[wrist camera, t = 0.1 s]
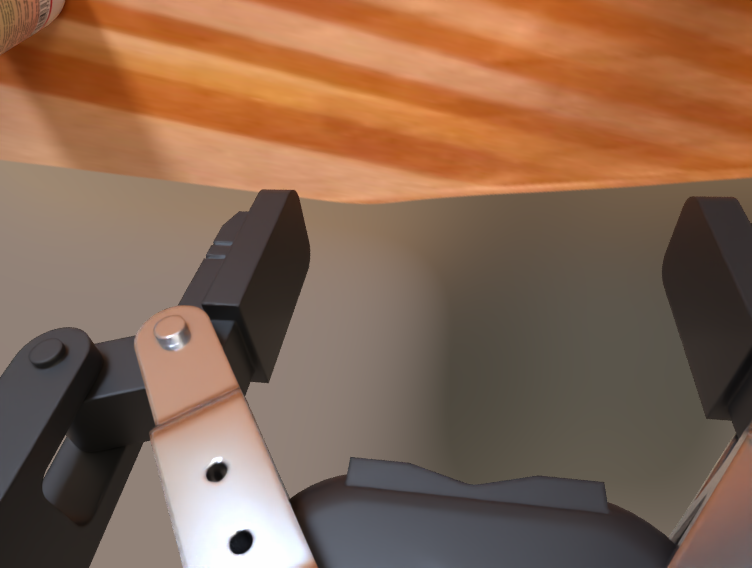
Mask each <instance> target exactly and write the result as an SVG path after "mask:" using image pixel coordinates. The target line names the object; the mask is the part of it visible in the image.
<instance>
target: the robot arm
mask: <svg viewBox="0 0 752 568" xmlns="http://www.w3.org/2000/svg"><path fill="white" fill-rule="evenodd" d="M213 243H214V245H212V246H211V247H210V249H209V251H208V252H207V254H206V259H204V260H203V262H202V263H201V265H200V267H199V268H198V271H197V272H196V274H195V276H194V278H193V279H192V281H191V283H190V285H189V286H188V288H187V290H186V292H185V293H184V295H183V297H182V299H181V301H180V303H179V304H178V306H175V307H171V308H167V309H165V310H163V311H160V312H158V313H157V314H155V315H153V316H152V317H150V318H149V319H148V320H147V321H146V322H145V323H144V324H143V325H142V326H141V328H140V329H139V330H138V332H137V334H136V335H135V336H131V337H126V338H121V339H116V340H111V341H106V342H101V343H97V344H94V343H93V342H92V340H91V339H90V338H89V336H88V335H87V334H86V333H85V332H84V331H82V330H81V329H78V328H72V327H66V328H59V329H54V330H51V331H48V332H46V333H44V334H42V335H40V336H38V337H36V338H34V339H33V340H31V341H30V342H29V343H28V344H26V345H25V346H24V347H23V348H22V349H21V350H20V351H19V352H18V353H17V355H16V356H15V357H14V359H13V360H12V361H11V363H10V364H9V366H8V367H7V368H6V370H5V371H4V373H3V374H2V375H1V377H0V568H89V566H90V564H91V562H92V559H93V557H94V555H95V552H96V550H97V548H98V546H99V543H100V541H101V539H102V536H103V534H104V532H105V530H106V527H107V525H108V523H109V520H110V518H111V516H112V514H113V511H114V509H115V506H116V504H117V502H118V500H119V497H120V495H121V493H122V491H123V488H124V486H125V484H126V481H127V479H128V477H129V474H130V472H131V470H132V467H133V465H134V463H135V461H136V458H137V456H138V454H139V451H140V449H141V447H142V444H143V442H145V441H151V445H152V449H153V453H154V457H155V461H156V464H157V469H158V472H159V476H160V480H161V484H162V488H163V492H164V495H165V499H166V503H167V507H168V511H169V515H170V518H171V523H172V526H173V530H174V534H175V538H176V542H177V545H178V550H179V553H180V557H181V561H182V565H183V568H752V223H750V221H749V220H748V218H747V216H746V214H745V212H744V211H743V209H742V207H741V205H740V203H739V202H738V200H737V199H736V198H734V197H690V198H688V199H687V201H686V202H685V204H684V206H683V208H682V211H681V214H680V216H679V219H678V222H677V224H676V227H675V229H674V232H673V235H672V237H671V240H670V242H669V245H668V248H667V250H666V253H665V256H664V260H663V266H662V279H663V285H664V288H665V291H666V295H667V298H668V301H669V304H670V307H671V310H672V313H673V316H674V319H675V322H676V326H677V329H678V332H679V335H680V338H681V341H682V344H683V347H684V350H685V354H686V356H687V359H688V363H689V366H690V369H691V372H692V375H693V378H694V382H695V385H696V388H697V391H698V394H699V397H700V400H701V403H702V406H703V410H704V413H705V416H706V418H707V419H717V420H730V421H732V423H733V426H734V428H735V431H736V433H735V435H734V436H733V438H732V439H731V441H730V442H729V444H728V445H727V447H726V448H725V450H724V452H723V453H722V455H721V456H720V458H719V460H718V461H717V463H716V464H715V466H714V467H713V469H712V471H711V472H710V474H709V475H708V477H707V479H706V480H705V482H704V483H703V485H702V487H701V488H700V490H699V491H698V493H697V495H696V496H695V498H694V500H693V501H692V503H691V504H690V506H689V508H688V509H687V511H686V512H685V514H684V515H683V517H682V518H681V520H680V521H679V523H678V524H677V526H676V527H675V529H674V530H673V531H672V533H671V534H670V536H669V537H667V536H666V535H665V534H663V533H662V532H660V531H659V530H658V529H656V528H655V527H654V526H652V525H651V524H650V523H648V522H647V521H645V520H643V519H642V518H640V517H638V516H637V515H635V514H633V513H632V512H630V511H627V510H625V509H623V508H621V507H619V506H617V505H614V504H612V503H609V502H607V497H606V491H605V485H604V482H598V481H588V480H577V479H567V478H557V477H547V476H532V477H525V478H519V479H513V480H506V481H499V482H492V483H486V484H478V485H472V484H467V483H464V482H461V481H458V480H455V479H453V478H450V477H447V476H444V475H441V474H439V473H436V472H433V471H430V470H428V469H425V468H422V467H419V466H417V465H414V464H411V463H405V462H395V461H385V460H375V459H365V458H355V457H351V458H350V462H349V468H348V473H347V475H341V476H337V477H333V478H329V479H326V480H323V481H321V482H319V483H316V484H314V485H312V486H310V487H308V488H306V489H304V490H302V491H301V492H299V493H297V494H296V495H295V496H293V497H292V498H291V499H290V497H289V495H288V493H287V491H286V488H285V486H284V484H283V482H282V480H281V477H280V475H279V473H278V471H277V468H276V466H275V464H274V461H273V459H272V457H271V454H270V452H269V450H268V448H267V445H266V443H265V441H264V439H263V436H262V434H261V432H260V429H259V427H258V426H257V423H256V420H255V418H254V416H253V414H252V411H251V409H250V407H249V404H248V402H247V400H246V398H245V395H246V392H247V389H248V387H249V384H250V382H261V383H269V380H270V378H271V375H272V372H273V369H274V366H275V363H276V360H277V357H278V355H279V352H280V349H281V346H282V343H283V340H284V337H285V335H286V332H287V329H288V326H289V323H290V320H291V317H292V315H293V312H294V309H295V306H296V303H297V300H298V297H299V295H300V292H301V289H302V286H303V283H304V280H305V277H306V274H307V271H308V268H309V262H310V244H309V239H308V235H307V231H306V226H305V222H304V217H303V213H302V209H301V204H300V200H299V196H298V194H297V192H296V191H295V190H261V191H260V192H259V193H258V195H257V197H256V199H255V201H254V203H253V205H252V207H251V208H250V211H249V212H241V211H239V212H238V213H237V214H236V215H234V216H233V217H232V218H231V219H230V220H229V221H227V222H226V223H225V224H224V225H223V226H222V228H221V229H220V231H219V233H218V235H217V237H216V238H215V240H214V242H213ZM65 435H66V436H67V437H66V439H65V440H64V442H63V444H62V446H61V448H60V449H59V451H58V453H57V455H56V457H55V459H54V460H53V462H52V464H51V466H50V468H49V469H48V471H47V473H46V475H45V477H44V474H45V471H46V469H47V467H48V465H49V464H50V462H51V460H52V458H53V456H54V455H55V453H56V451H57V449H58V447H59V445H60V444H61V442H62V440H63V438H64V436H65ZM43 477H44V479H43Z"/></svg>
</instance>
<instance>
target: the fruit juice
mask: <svg viewBox="0 0 752 568" xmlns="http://www.w3.org/2000/svg"><path fill="white" fill-rule="evenodd" d="M64 4H65V0H0V55H1V54H3V53H5V52H6V51H8V50H9V49H11V48H13V47H14V46H16V45H17V44H19V43H21V42H22V41H24V40H25V39H27V38H29V37H30V36H32V35H33V34H35V33H37V32H38V31H40V30H41V29H43V28H44V27H46V26H48V25H49V24H50V23H51V22H52V21H53V20H54V19H55V18H56V17H57V16H58V15H59V14H60V12H61V10H62V8H63V6H64Z"/></svg>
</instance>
